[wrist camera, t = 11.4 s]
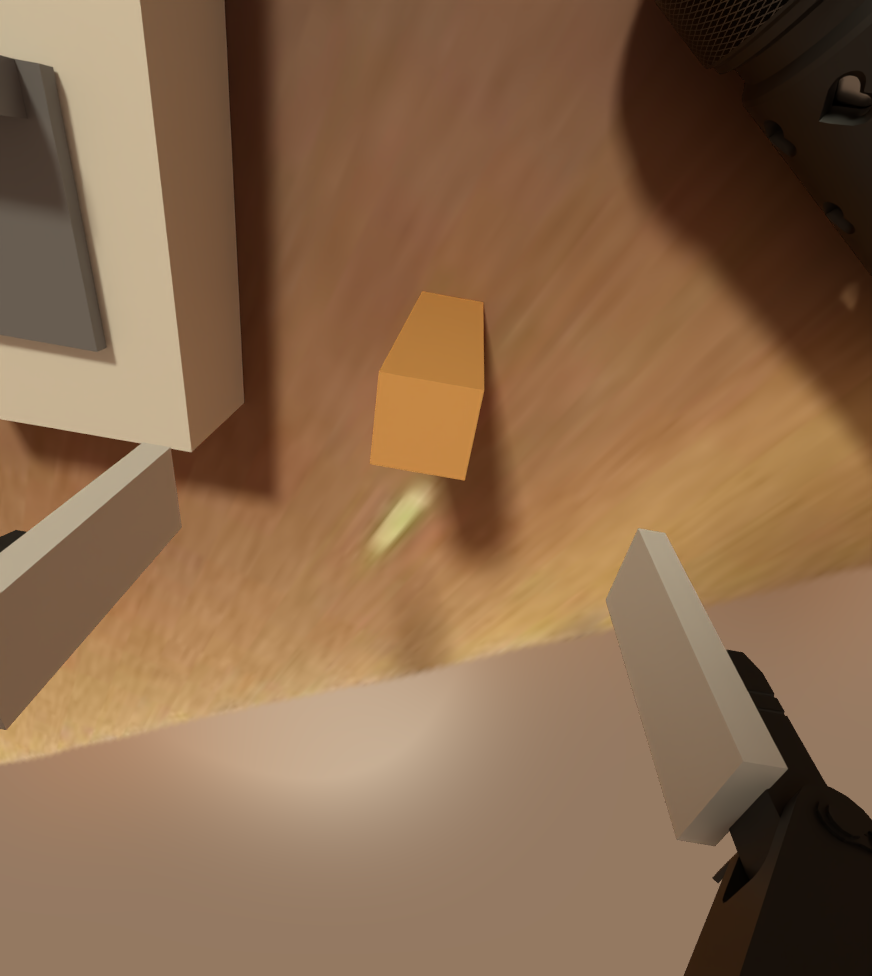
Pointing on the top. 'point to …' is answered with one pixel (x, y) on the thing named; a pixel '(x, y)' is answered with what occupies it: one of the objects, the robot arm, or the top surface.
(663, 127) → the top surface
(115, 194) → the socket block
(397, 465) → the plug peg
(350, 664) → the top surface
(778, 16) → the muzzle brake
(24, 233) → the shutter
